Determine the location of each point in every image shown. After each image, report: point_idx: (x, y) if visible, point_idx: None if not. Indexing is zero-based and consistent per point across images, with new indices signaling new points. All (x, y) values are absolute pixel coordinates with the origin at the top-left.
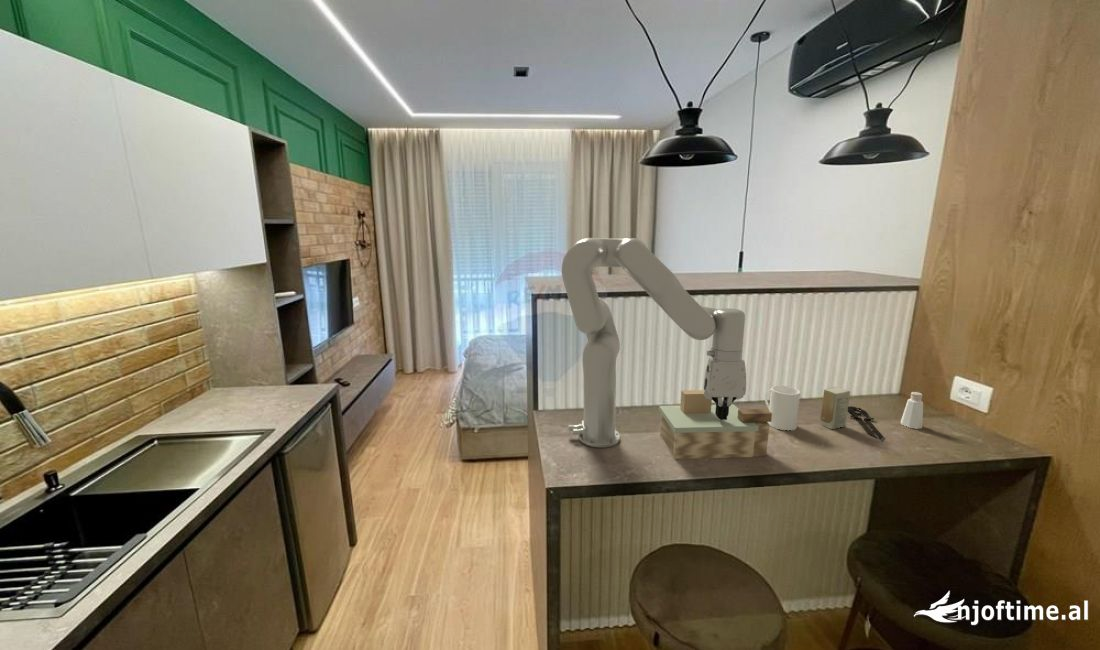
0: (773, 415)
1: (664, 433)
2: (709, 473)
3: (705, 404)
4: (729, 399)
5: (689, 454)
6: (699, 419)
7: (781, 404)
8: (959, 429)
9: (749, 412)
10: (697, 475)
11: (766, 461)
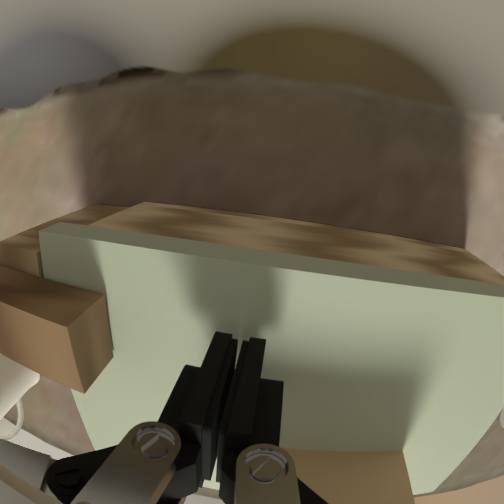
0: (13, 374)
1: None
2: (397, 114)
3: None
4: (130, 493)
5: (422, 245)
6: (377, 394)
7: None
8: None
9: (29, 331)
10: (446, 117)
11: (113, 164)
